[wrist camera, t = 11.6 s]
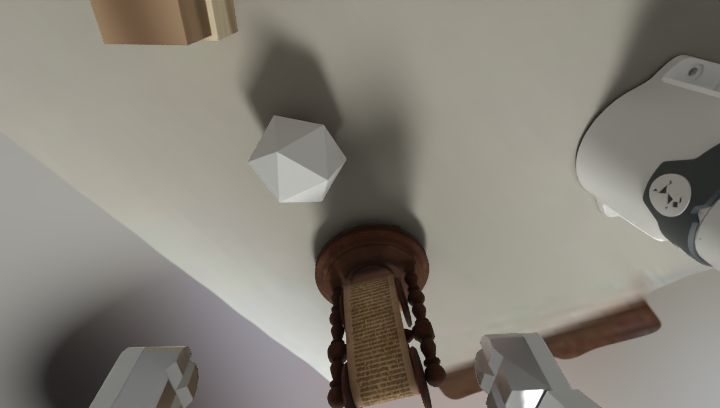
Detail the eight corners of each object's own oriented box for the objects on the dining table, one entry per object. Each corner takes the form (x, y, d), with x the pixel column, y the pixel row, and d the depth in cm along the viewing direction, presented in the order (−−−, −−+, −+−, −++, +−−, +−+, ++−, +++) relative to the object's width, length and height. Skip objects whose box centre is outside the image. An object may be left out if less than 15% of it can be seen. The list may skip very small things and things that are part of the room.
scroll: (411, 203, 42) (460, 349, 25) (434, 285, 50) (483, 438, 33) (298, 236, 44) (273, 394, 27) (337, 310, 52) (337, 468, 35)
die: (262, 97, 35) (217, 175, 31) (333, 89, 31) (292, 178, 27) (303, 148, 41) (270, 219, 37) (367, 148, 37) (337, 227, 33)
